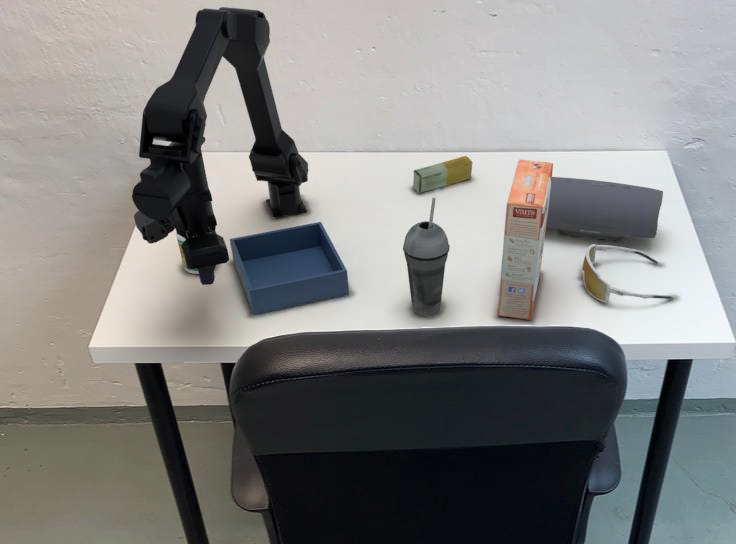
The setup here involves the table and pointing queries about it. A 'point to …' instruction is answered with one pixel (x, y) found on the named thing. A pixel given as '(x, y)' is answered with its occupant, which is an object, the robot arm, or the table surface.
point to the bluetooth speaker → (603, 209)
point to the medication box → (442, 174)
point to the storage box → (289, 267)
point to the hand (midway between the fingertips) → (206, 273)
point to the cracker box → (524, 238)
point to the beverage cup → (426, 264)
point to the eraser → (204, 281)
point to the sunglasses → (598, 285)
